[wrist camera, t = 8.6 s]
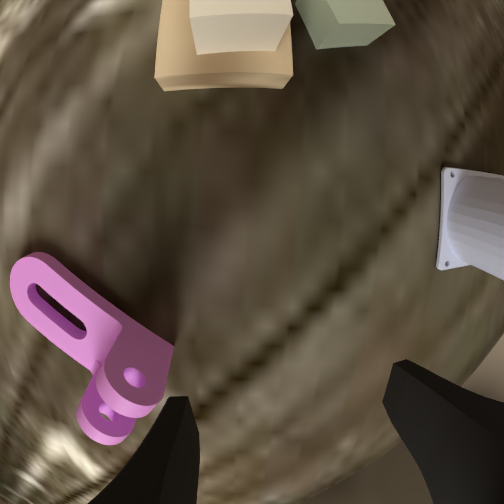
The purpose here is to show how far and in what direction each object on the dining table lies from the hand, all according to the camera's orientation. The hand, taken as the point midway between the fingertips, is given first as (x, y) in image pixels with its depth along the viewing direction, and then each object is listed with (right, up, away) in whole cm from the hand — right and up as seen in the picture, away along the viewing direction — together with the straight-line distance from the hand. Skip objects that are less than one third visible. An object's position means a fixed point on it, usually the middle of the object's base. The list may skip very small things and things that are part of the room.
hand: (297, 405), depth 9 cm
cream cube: (-2, +17, +3) cm, 18 cm away
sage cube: (+4, +20, +5) cm, 21 cm away
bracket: (-14, 0, +9) cm, 16 cm away
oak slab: (-3, +18, +5) cm, 19 cm away
